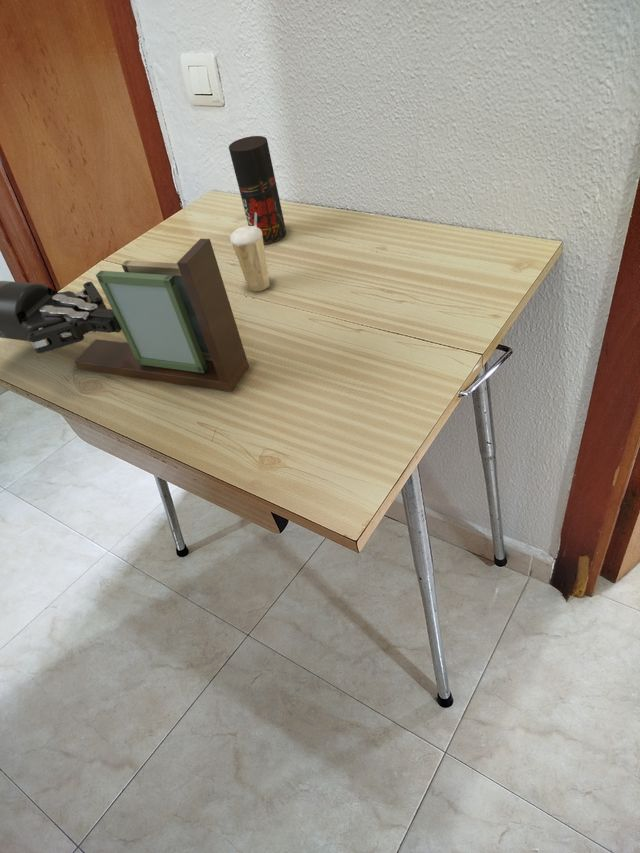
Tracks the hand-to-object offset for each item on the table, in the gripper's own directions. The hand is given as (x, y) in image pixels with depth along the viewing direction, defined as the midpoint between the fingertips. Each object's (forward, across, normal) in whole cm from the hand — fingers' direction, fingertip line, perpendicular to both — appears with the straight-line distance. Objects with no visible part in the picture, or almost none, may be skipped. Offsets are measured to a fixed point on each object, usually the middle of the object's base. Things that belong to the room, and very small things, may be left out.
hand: (120, 321), depth 71 cm
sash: (+5, 0, +6) cm, 8 cm away
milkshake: (+7, +22, +8) cm, 24 cm away
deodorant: (+2, +36, +8) cm, 37 cm away
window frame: (+2, +1, +8) cm, 8 cm away
